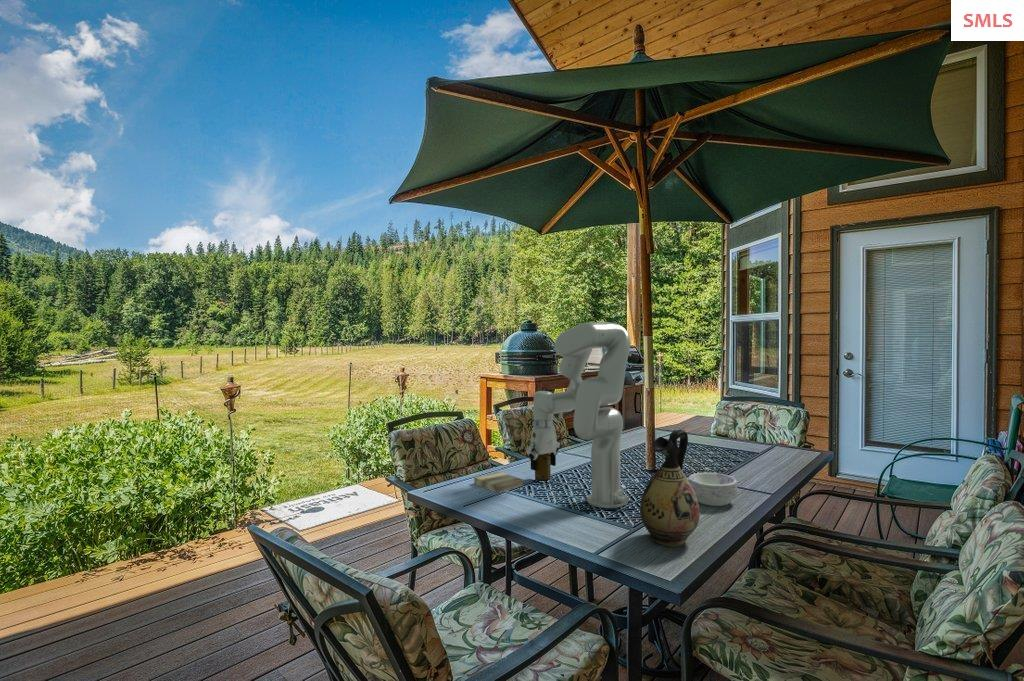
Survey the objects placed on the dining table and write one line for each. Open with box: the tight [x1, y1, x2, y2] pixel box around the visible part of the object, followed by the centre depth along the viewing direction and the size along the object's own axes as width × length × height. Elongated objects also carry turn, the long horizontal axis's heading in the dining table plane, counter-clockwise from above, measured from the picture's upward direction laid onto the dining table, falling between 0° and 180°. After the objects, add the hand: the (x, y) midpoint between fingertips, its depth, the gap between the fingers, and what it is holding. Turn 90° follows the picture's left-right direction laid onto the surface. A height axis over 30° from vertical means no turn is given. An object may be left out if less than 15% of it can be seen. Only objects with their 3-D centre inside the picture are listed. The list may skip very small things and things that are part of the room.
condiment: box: [534, 453, 552, 485], centre depth 192 cm, size 7×8×12 cm
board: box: [473, 471, 524, 493], centre depth 186 cm, size 14×12×2 cm
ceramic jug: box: [639, 429, 700, 548], centre depth 136 cm, size 17×15×30 cm
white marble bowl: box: [687, 472, 739, 507], centre depth 166 cm, size 15×15×8 cm
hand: (543, 467), depth 192 cm, fingers open, 9 cm apart
